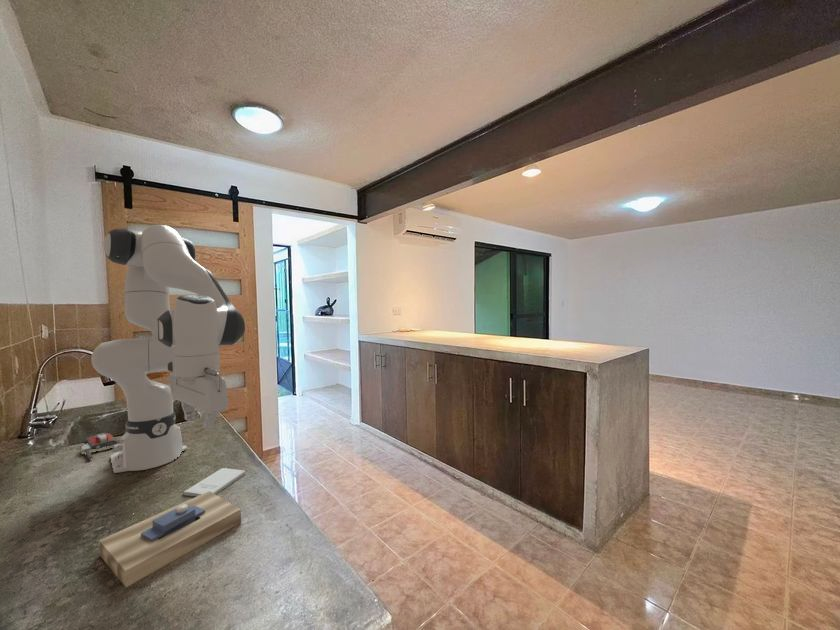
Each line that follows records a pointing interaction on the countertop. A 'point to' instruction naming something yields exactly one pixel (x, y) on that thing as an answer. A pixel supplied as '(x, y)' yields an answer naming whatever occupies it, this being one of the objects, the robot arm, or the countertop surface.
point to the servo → (172, 522)
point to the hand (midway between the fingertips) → (199, 424)
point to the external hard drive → (215, 482)
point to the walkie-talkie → (98, 443)
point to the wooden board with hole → (166, 539)
